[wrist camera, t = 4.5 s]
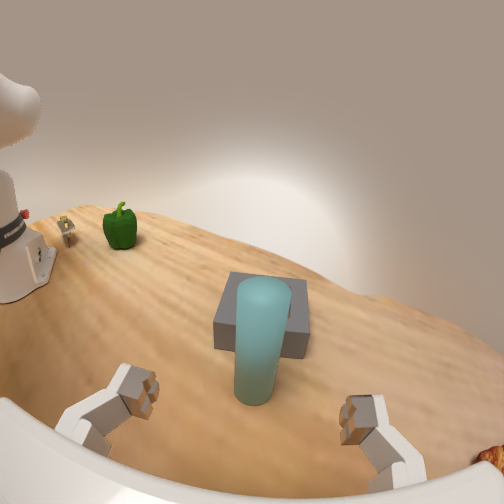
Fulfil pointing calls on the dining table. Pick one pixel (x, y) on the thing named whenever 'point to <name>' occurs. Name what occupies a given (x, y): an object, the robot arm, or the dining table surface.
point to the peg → (259, 336)
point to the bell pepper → (120, 228)
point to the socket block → (295, 325)
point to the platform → (66, 231)
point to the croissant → (493, 457)
